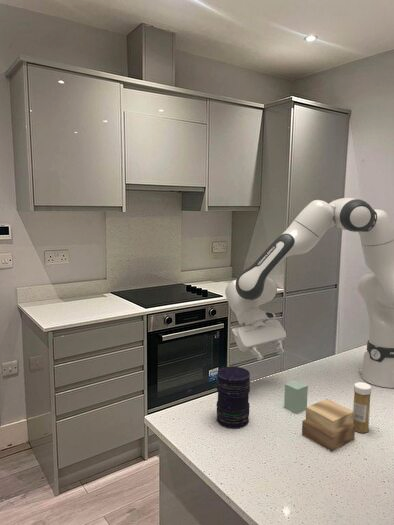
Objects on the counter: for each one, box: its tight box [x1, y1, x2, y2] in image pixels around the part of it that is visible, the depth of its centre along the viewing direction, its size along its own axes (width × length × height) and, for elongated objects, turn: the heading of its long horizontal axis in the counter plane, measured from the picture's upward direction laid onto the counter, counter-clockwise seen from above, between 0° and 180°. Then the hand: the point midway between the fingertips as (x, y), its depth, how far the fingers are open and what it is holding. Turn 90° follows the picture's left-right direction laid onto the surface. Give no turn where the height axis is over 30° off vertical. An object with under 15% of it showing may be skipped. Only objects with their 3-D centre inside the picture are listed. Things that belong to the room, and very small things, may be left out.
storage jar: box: [216, 366, 251, 430], centre depth 121 cm, size 10×10×15 cm
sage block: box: [283, 379, 309, 415], centre depth 128 cm, size 5×5×8 cm
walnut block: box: [301, 418, 356, 452], centre depth 113 cm, size 10×10×4 cm
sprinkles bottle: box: [352, 381, 372, 434], centre depth 116 cm, size 5×5×14 cm
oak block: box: [305, 398, 354, 435], centre depth 112 cm, size 9×9×4 cm
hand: (271, 356), depth 136 cm, fingers open, 8 cm apart
